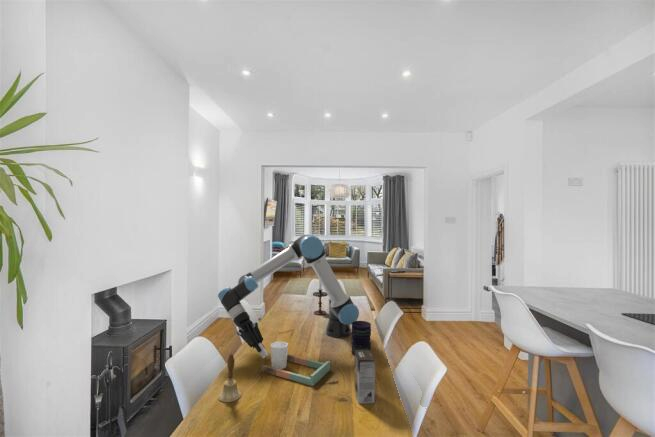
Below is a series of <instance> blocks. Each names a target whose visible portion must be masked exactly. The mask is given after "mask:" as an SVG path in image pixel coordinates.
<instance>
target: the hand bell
mask: <svg viewBox="0 0 655 437" xmlns="http://www.w3.org/2000/svg"><path fill="white" fill-rule="evenodd" d="M226 366H227V370H228V375H227V376H228V378H227V380H226V381H224V384H223V389H222V391H221V393H219V395H218V400H219V401H220V402H222V403H232V402H233V403H234V402H236V401H238V400H239V399H240V398H241V396H242V392H241V391H240V390H239V388H238V386H237V380H236V379H233V378H234V376H233V375H234V373H233V372H234V368H235V357H234V354H233V353H229V355H228V359H227V364H226Z"/></svg>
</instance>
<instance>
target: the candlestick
mask: <svg viewBox="0 0 655 437" xmlns="http://www.w3.org/2000/svg"><path fill="white" fill-rule="evenodd" d="M322 287H323V285H322V284H321V282H320V280H319V279H318V291H315V292H313V293H312V296H314V297H316V298H317V297H318V300H319V301H318V310H315V311H313V314H314V315H315V316H325V315H327V311H326V310H322V307H323V306H322V304H323V302H322V298H323V297H327V296H328V294H327V292H326V291H323V288H322Z"/></svg>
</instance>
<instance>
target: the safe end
mask: <svg viewBox="0 0 655 437" xmlns="http://www.w3.org/2000/svg"><path fill="white" fill-rule="evenodd" d="M307 359H308V358H307ZM306 367H309V368H314V369H316V370H315V371H314V372H313V373H311V374H310V377H309V376H306V375H303V374H299V373H295V372H292V371H290V372H291V373H290V379H289V380H290V381H293V382H297V383H301V384H304V385H308V386H311V387H314V386H315V384H317V383H318V382H319V381H320V380H321V379H322V378H323V377H324V376H325V375H327V373H329V371H330V370H331V361H330V360H327V361H325V362H321V361H317V360H312V359H308V360H307V366H306Z"/></svg>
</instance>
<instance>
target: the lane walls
mask: <svg viewBox="0 0 655 437" xmlns="http://www.w3.org/2000/svg"><path fill="white" fill-rule="evenodd" d="M295 356H296V355H292V354H288V353H287V362H291V363H294V357H295ZM276 370H277V368H274V367H272V366H270V365H266V364H262V365H261V372H263V373H265V374H269V375H273V376H276Z"/></svg>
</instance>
